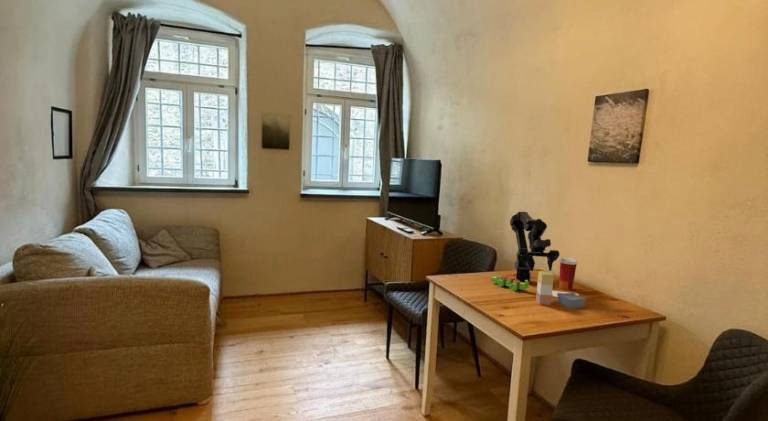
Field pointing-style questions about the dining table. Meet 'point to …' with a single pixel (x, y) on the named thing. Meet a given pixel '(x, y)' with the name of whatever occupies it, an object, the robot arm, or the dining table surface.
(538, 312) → the dining table surface
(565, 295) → the base brick
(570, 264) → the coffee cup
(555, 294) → the page
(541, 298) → the brick column
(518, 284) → the green bumpy elongated piece
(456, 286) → the dining table surface
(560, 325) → the dining table surface
